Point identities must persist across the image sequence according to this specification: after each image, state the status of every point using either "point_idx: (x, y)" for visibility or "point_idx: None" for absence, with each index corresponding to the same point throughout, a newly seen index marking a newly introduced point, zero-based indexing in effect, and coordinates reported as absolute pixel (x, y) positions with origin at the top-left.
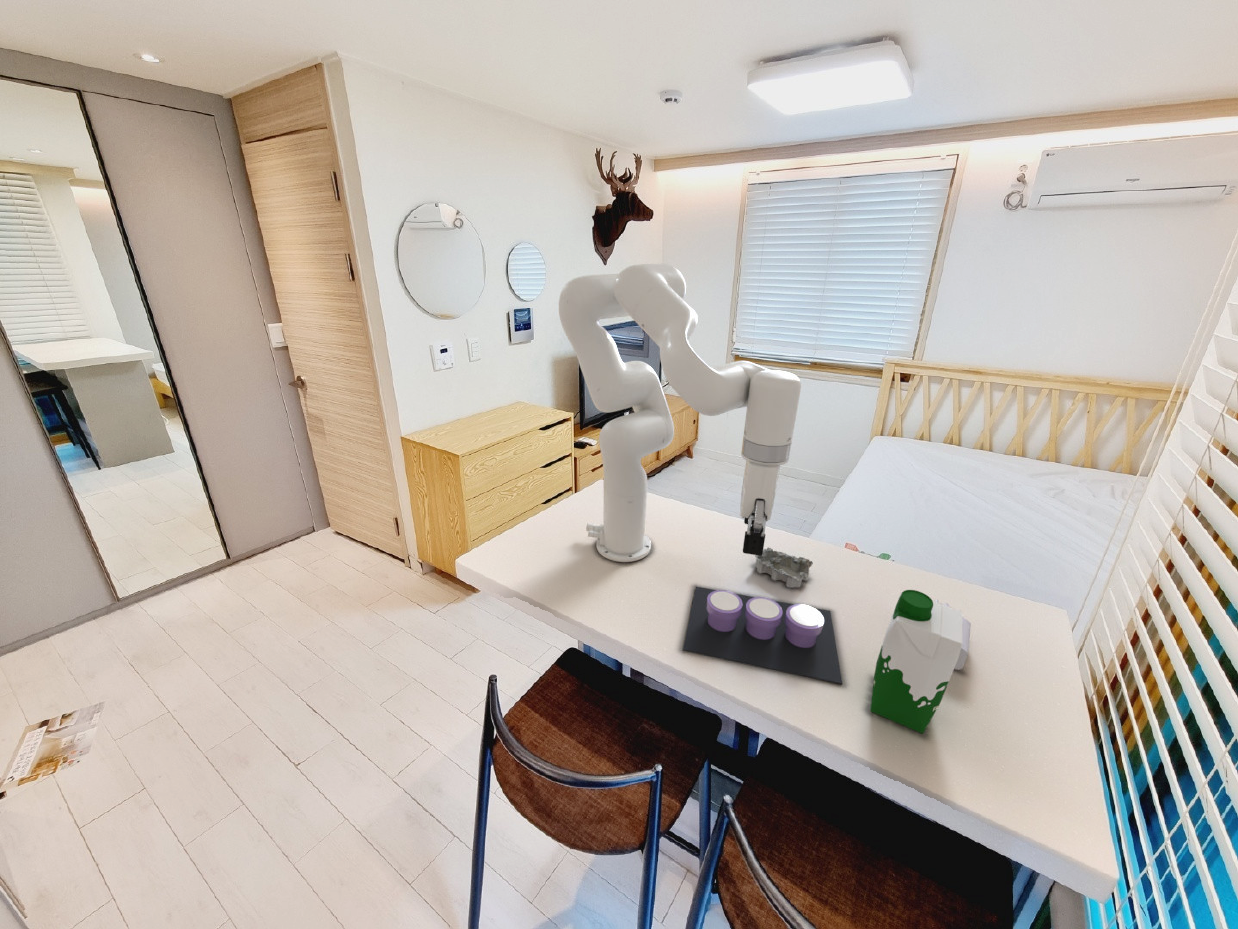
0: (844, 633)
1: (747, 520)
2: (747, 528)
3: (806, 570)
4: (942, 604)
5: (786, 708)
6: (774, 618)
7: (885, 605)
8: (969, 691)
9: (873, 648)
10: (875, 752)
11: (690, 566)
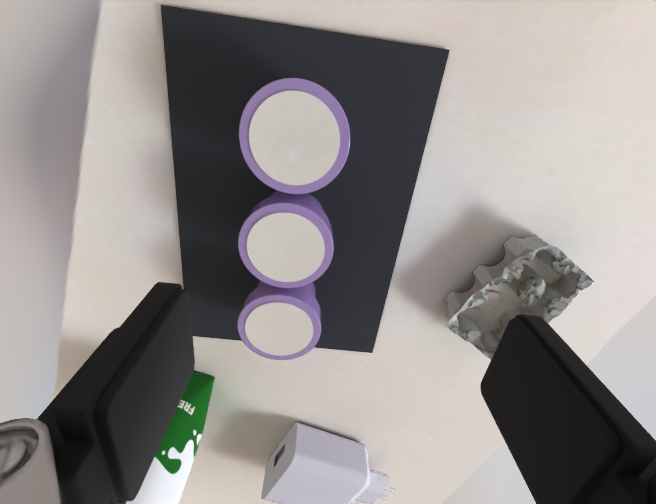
0: (316, 359)
1: (522, 345)
2: (19, 472)
3: (491, 342)
4: (376, 498)
5: (94, 242)
6: (253, 267)
7: (398, 424)
8: (234, 458)
9: (288, 388)
10: (74, 346)
11: (564, 29)
